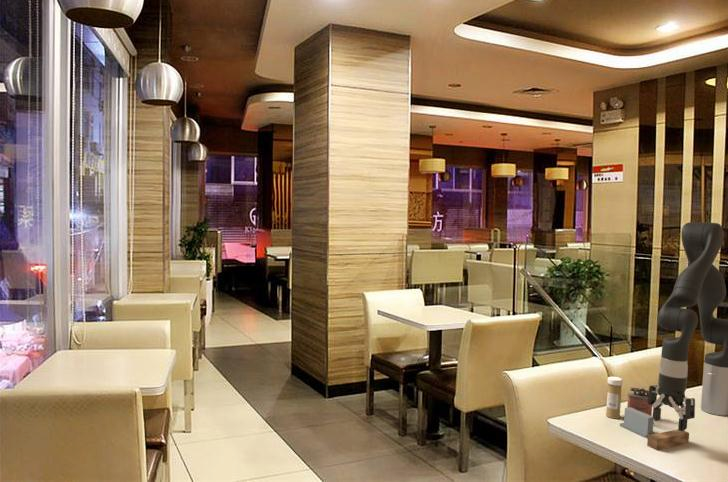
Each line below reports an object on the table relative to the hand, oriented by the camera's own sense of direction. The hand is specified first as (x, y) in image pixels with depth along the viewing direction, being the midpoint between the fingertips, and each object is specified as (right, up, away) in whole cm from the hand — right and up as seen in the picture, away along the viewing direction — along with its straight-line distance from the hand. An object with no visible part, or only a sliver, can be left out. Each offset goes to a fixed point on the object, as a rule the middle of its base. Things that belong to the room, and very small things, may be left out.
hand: (668, 425), depth 176 cm
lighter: (+2, -5, +23) cm, 24 cm away
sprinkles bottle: (-7, -4, +22) cm, 24 cm away
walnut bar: (0, -6, +1) cm, 6 cm away
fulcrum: (-4, -5, +11) cm, 13 cm away
